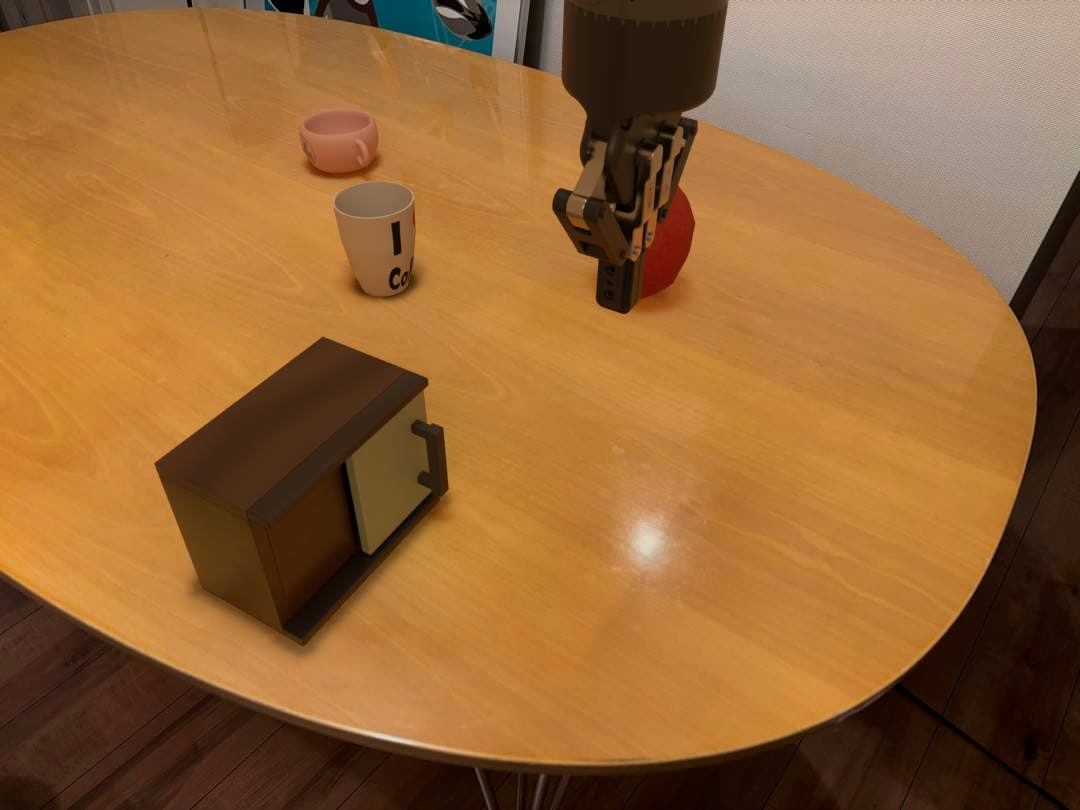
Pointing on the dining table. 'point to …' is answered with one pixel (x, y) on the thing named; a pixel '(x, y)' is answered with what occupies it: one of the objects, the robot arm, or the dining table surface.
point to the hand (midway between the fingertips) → (618, 303)
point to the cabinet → (288, 487)
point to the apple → (669, 247)
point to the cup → (378, 234)
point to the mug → (339, 139)
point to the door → (396, 472)
